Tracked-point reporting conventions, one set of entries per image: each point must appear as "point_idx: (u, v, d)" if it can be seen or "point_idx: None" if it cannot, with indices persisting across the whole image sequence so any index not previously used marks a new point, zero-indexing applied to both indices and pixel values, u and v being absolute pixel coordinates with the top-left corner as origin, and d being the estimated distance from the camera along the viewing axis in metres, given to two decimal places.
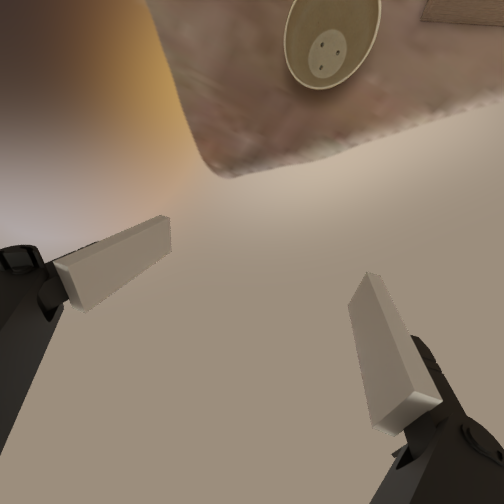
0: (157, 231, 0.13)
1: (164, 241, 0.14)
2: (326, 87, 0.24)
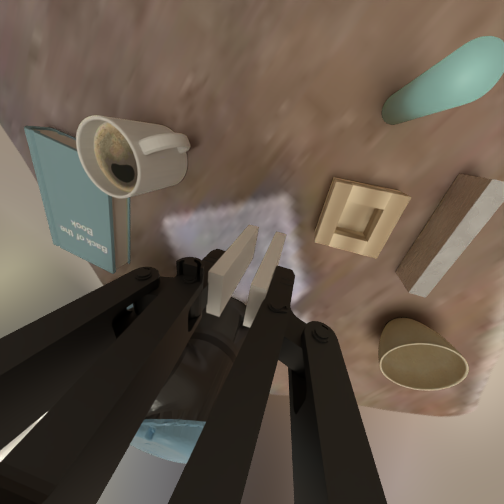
0: (252, 240, 0.14)
1: (253, 249, 0.15)
2: (465, 375, 0.26)
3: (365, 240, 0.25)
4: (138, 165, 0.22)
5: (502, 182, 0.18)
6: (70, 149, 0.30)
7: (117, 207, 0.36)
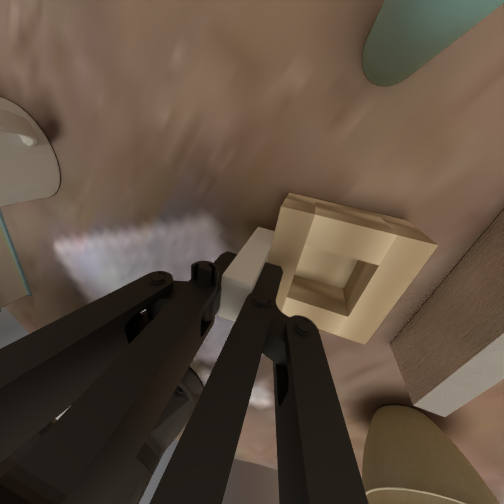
0: None
1: None
2: None
3: (344, 312, 0.13)
4: None
5: None
6: None
7: None
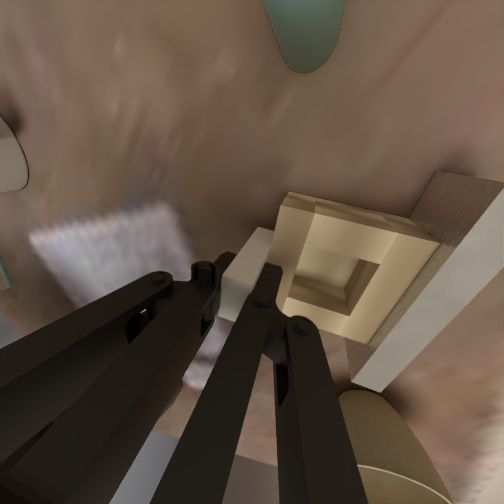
0: None
1: None
2: None
3: (345, 312, 0.13)
4: None
5: None
6: None
7: None
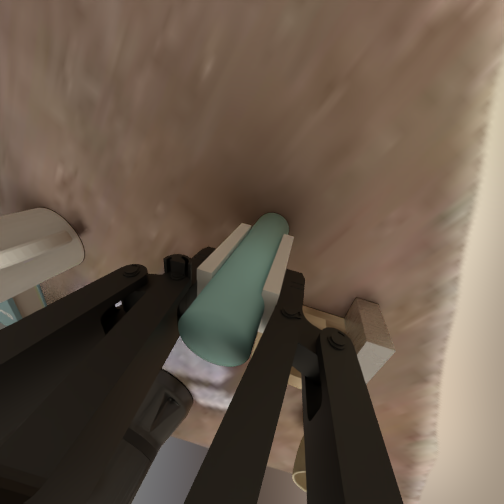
0: None
1: None
2: None
3: None
4: None
5: (378, 346, 0.15)
6: None
7: None
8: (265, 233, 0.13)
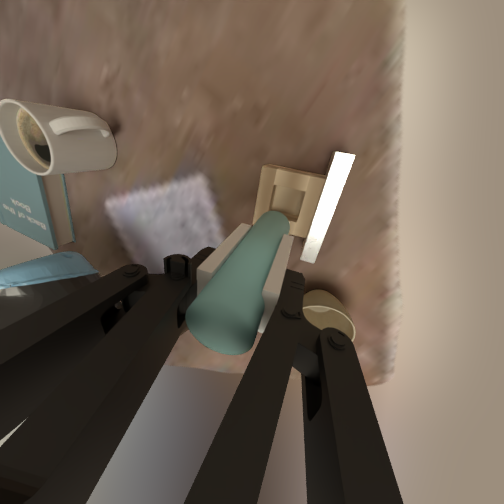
0: None
1: None
2: (354, 334, 0.29)
3: (295, 221, 0.27)
4: (49, 143, 0.25)
5: (344, 154, 0.21)
6: None
7: (50, 185, 0.39)
8: (267, 230, 0.13)
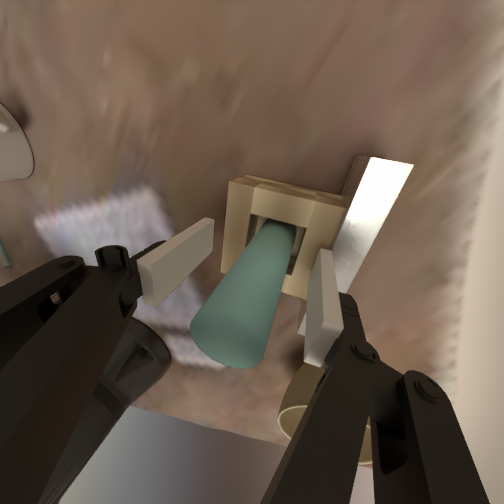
0: (205, 232, 0.13)
1: (209, 241, 0.15)
2: None
3: (289, 273, 0.16)
4: None
5: (388, 162, 0.10)
6: None
7: None
8: (275, 234, 0.13)
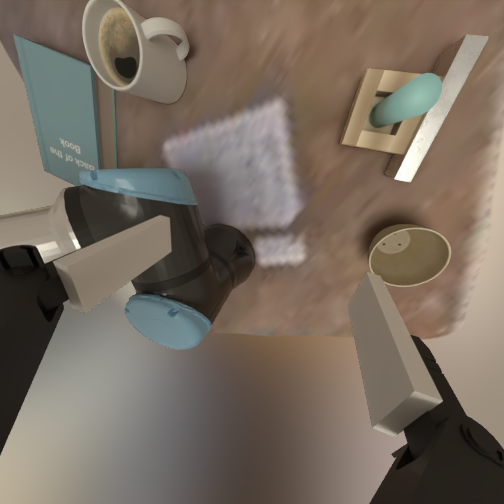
0: (157, 231, 0.13)
1: (164, 241, 0.14)
2: (448, 260, 0.28)
3: None
4: (140, 46, 0.24)
5: (475, 36, 0.20)
6: (56, 53, 0.32)
7: (103, 121, 0.38)
8: None
